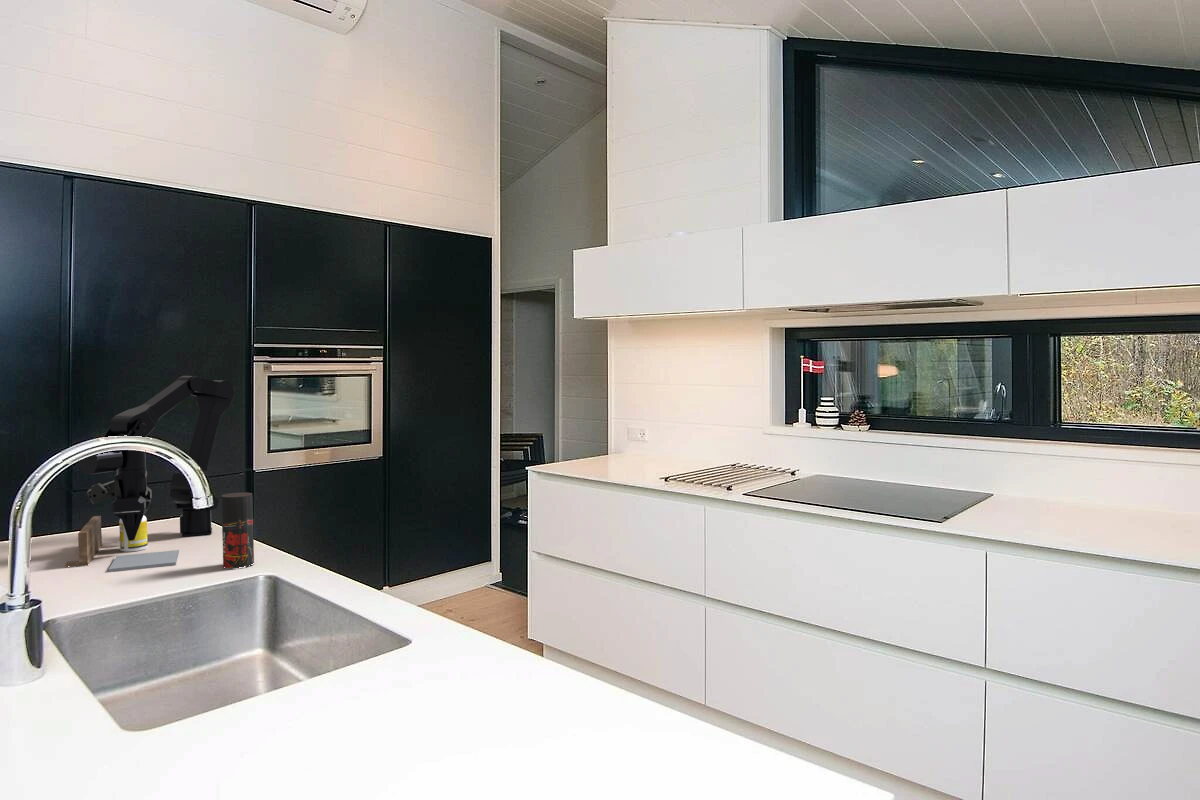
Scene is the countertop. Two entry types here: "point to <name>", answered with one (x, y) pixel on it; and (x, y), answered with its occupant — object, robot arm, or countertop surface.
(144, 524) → the supplement bottle
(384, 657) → the countertop surface
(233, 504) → the deodorant
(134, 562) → the mat
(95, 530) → the screen
